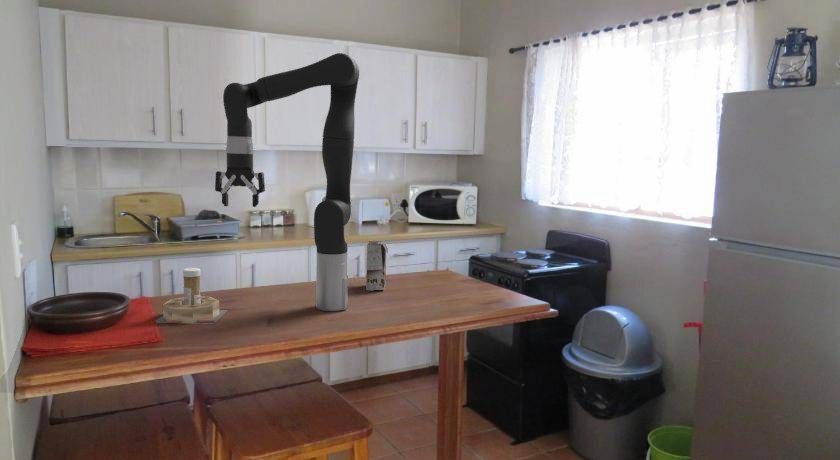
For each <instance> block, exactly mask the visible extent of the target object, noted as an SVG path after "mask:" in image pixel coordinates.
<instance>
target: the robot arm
mask: <svg viewBox="0 0 840 460" xmlns="http://www.w3.org/2000/svg"><path fill="white" fill-rule="evenodd" d="M359 79H360V68H359V64H358V63H357V61H356V60H355V59H354V58H352V57H351V56H350V55H348V54H346V53H344V52H343V53H342V52H338V53H334V54H332V55H329V56H328V57H326V58H325V57H324V58H323V59H320V60H319V61H316V62H313V63H311V64H308V65H306V66H302V67H300V68H295V69H292V70H287V71H283V72H278V73H274V74H271V75H267V76H263V77H260V78H258V79H257V80H256V81H253V82H250V83H244V84H242V83H240V82H231V83H228V84H227V85H226V86H225V88H224V91H223V95H222V98H223V101H222V102H223V107H224V112H225V117H226V125H227V126H226V127H227V129H226V132H227V133H226V134H227V135H226V137H227V139H226V148H225V152H226V171H221V170H218V171H216V172H215V183H214V185H215V186H214V189H215V192H219V193H220V194H221V204H222V205H223V207H228V206H229V193H228V192H229V191H230V189H232V188H233V187H247V188H248V189H249V190H250V191H251V193H252V196H251V197H252V207H253V208H257V206H258V205H259V204H260V202H259V198H260V196H259V195H260V194H261V193H265V191H266V186H265V185H266V184H265V173H264V172H261V171H260V172H254V148H253V147H254V144H253V138H252V137H253V134H252V133H253V125H252V120H251V118H250V117H249V113H248V109H249V108H253V107H256V106H259V105H261V104H263V103H267V102H271V101H276V100H281V99H283V98H287V97H291V96H293V95H297V94H299V93H301V92H303V91H305V90H310V89H311V88H316V87H321V86H322V87H323V86H330V103H329V108H328V112H327V115H326V119H325V122H324V126H323V131H322V144H321V158H322V163H323V167H324V171H325V178H326V189H325V191H326V192H325V199H324V200H322V201H321V202H319V203H318V204H317V205H316V207H315V209H314V214H313V235H314V236H313V239H314V245H315V247H316V268H315V269H316V276H315V277H316V278H315V280H316V285H315V287H316V293H315V294H316V295H315V296H316V297H315V303H316V305H315V307H316V309H317V310H319V311H324V312H338V311H346V310H347V308H348V305H349V304H348V298H349V297H348V296H349V291H348V289H349V276H348V243H347V241H346V240H345V226H346V225H347V224H348V223H349V221H350V218H351V215H352V213H351V212H352V208H351V207H352V205H351V202H352V201H351V179H352V178H351V177H352V170H353V168H352V166H353V159H354V158H353V155H354V146H355V145H354V144H355V103H356V95H357V89H358V85H359V84H358V83H359ZM225 177H226V179H227V182H226V183H225V184H224V187H223V186H222V185H223V179H224V178H225ZM254 178H256V180H257V181H258V188H257V187H256V185H255V183H254V182H253V179H254Z"/></svg>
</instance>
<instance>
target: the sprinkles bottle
mask: <svg viewBox="0 0 840 460" xmlns="http://www.w3.org/2000/svg"><path fill="white" fill-rule="evenodd" d="M201 272H202V271H201V268H199V267H187V268H184V269H182V276H183V297H184V305H198V304H201V296H202V295H201Z"/></svg>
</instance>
